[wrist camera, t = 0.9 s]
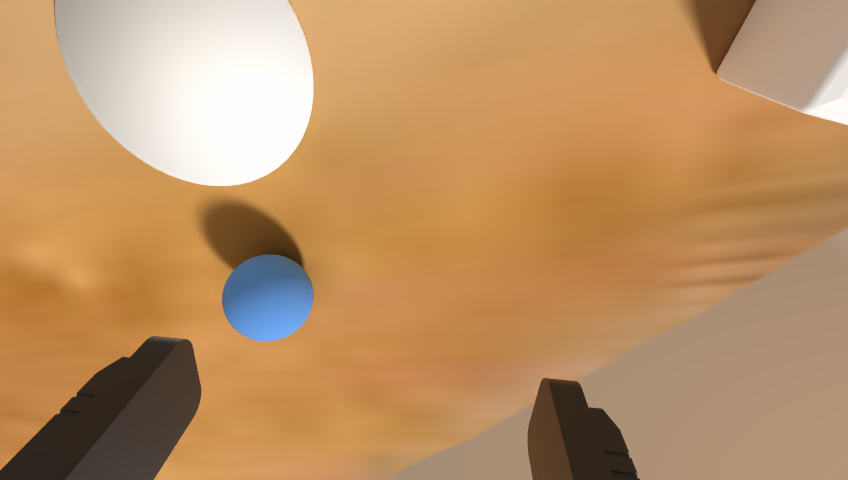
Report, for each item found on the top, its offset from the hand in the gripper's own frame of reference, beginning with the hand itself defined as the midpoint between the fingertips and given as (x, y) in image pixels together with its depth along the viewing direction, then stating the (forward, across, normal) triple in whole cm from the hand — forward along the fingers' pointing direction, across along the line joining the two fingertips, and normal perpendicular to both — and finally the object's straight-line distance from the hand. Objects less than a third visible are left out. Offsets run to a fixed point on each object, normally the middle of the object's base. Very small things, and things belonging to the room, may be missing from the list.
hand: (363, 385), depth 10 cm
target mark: (+18, +13, -4) cm, 22 cm away
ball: (+16, +9, +10) cm, 21 cm away
